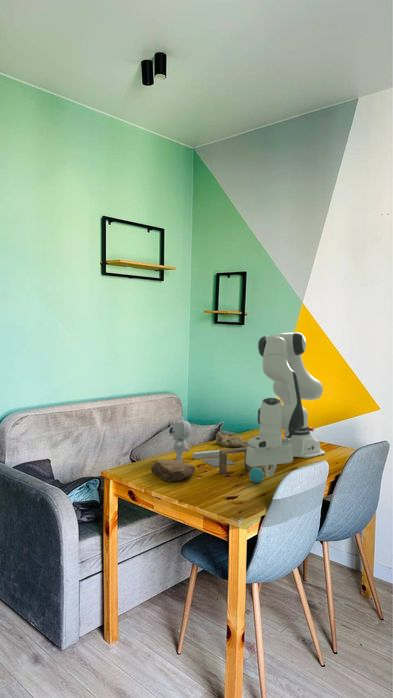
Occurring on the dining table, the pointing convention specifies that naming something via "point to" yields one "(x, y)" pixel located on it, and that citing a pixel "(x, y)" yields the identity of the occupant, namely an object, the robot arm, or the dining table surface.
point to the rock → (172, 470)
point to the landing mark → (216, 462)
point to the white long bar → (206, 454)
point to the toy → (180, 436)
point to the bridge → (224, 458)
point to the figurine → (231, 441)
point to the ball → (256, 475)
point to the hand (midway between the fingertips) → (269, 475)
